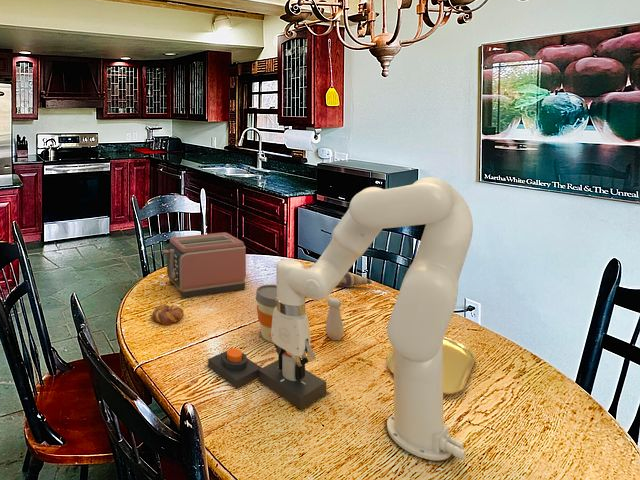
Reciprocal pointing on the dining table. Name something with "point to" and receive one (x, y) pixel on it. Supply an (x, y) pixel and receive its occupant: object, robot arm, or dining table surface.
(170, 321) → the braided bread roll
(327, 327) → the salt shaker
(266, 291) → the reusable coffee cup
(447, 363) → the serving platter
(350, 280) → the decorative bottle
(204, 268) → the toaster
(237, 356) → the button
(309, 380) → the fryer panel
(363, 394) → the dining table surface
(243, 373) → the block
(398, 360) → the robot arm
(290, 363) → the timer knob
